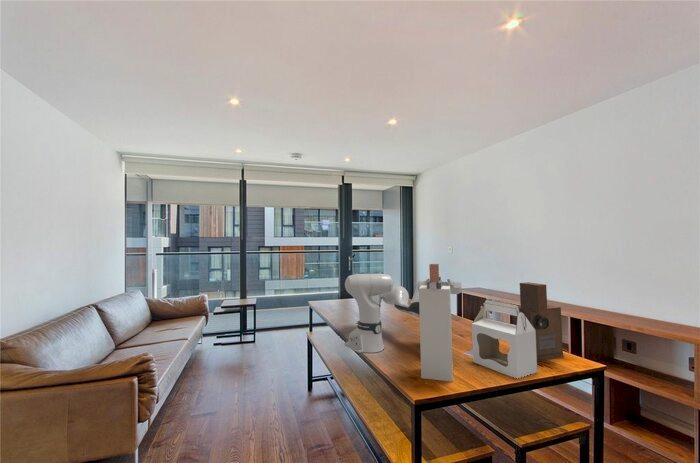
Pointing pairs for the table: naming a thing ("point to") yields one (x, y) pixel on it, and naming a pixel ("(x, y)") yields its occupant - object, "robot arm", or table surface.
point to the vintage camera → (542, 320)
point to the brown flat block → (434, 276)
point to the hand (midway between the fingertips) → (438, 280)
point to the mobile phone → (469, 353)
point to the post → (435, 333)
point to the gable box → (518, 336)
